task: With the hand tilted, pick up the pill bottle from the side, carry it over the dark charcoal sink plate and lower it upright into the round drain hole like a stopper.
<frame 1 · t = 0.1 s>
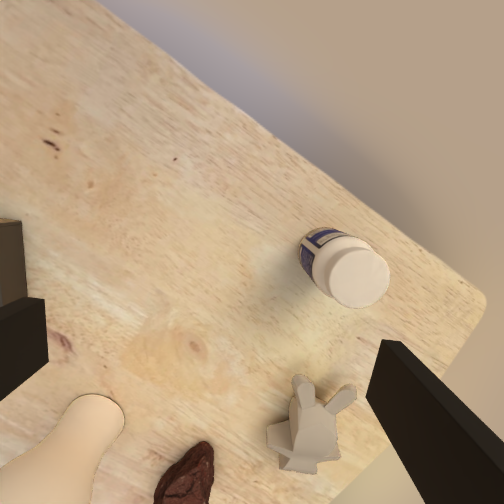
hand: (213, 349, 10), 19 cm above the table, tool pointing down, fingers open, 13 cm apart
rock: (188, 464, 35), on the table
beige blocky figure: (304, 408, 33), on the table
pill bottle: (321, 250, 28), on the table
cup: (97, 416, 33), on the table
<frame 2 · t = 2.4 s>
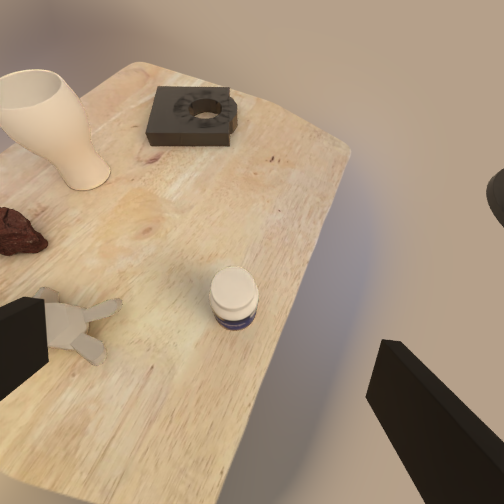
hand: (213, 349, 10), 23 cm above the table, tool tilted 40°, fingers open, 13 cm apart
sink: (193, 121, 53), on the table
rock: (20, 235, 38), on the table
beige blocky figure: (68, 331, 32), on the table
pill bottle: (235, 311, 34), on the table
cup: (89, 175, 45), on the table
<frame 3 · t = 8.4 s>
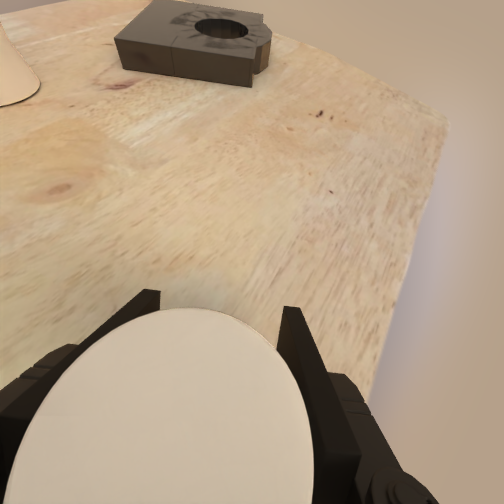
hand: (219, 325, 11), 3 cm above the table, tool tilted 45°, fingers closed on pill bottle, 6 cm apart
sink: (201, 52, 34), on the table
pill bottle: (209, 414, 12), on the table, touching gripper
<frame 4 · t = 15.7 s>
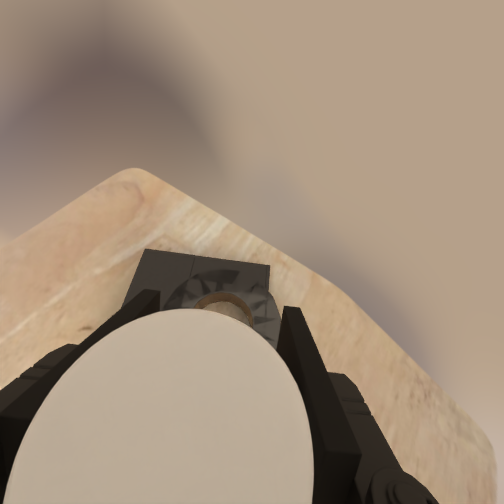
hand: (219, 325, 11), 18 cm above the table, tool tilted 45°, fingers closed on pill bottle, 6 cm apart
sink: (196, 326, 29), on the table
pill bottle: (209, 415, 12), point 15 cm above the table, touching gripper
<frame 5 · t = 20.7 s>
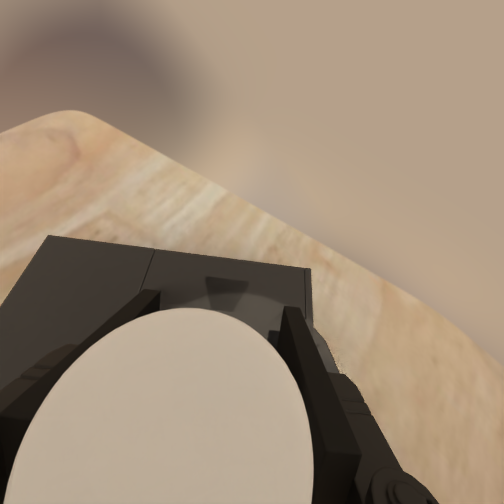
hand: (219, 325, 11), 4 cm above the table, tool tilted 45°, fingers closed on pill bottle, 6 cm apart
sink: (153, 406, 13), on the table
pill bottle: (209, 415, 12), point 1 cm above the table, touching gripper
when the fingers open (4 cm above the table, at t = 23.1 s): pill bottle drops 1 cm, resting in sink.
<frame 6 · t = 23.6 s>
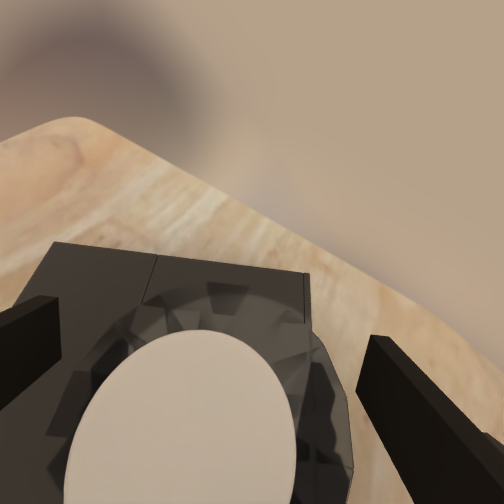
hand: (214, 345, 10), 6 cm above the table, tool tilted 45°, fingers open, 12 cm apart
sink: (156, 407, 13), on the table
pill bottle: (211, 415, 14), resting in sink
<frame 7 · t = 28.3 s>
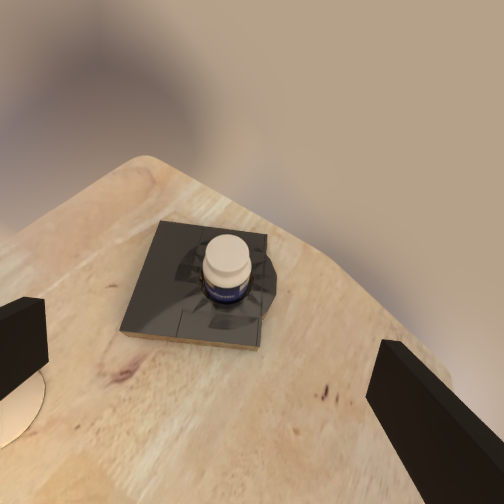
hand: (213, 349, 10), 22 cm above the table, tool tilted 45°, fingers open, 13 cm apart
sink: (205, 284, 34), on the table
pill bottle: (226, 288, 34), resting in sink
cup: (3, 405, 25), on the table
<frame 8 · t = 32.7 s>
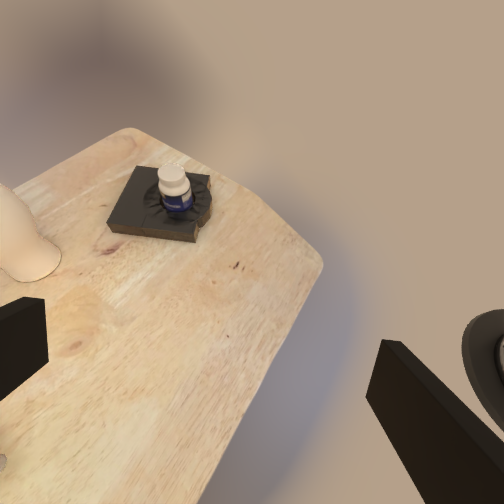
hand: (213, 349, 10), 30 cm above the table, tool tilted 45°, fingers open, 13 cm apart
sink: (165, 207, 51), on the table
pill bottle: (180, 209, 51), resting in sink
cup: (36, 262, 42), on the table
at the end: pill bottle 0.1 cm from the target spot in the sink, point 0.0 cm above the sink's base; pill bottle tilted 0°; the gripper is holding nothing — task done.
